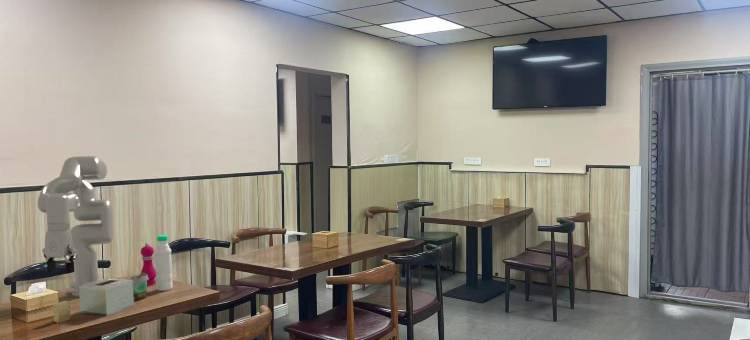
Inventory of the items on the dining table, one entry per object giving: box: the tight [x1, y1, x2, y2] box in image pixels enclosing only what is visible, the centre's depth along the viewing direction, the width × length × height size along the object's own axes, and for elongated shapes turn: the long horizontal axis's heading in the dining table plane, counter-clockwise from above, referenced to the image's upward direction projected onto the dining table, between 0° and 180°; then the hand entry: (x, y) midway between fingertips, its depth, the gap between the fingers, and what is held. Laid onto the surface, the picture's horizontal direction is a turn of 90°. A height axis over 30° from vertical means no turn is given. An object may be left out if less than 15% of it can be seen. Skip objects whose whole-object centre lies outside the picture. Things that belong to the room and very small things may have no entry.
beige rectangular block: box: [52, 300, 71, 324], centre depth 220 cm, size 2×5×7 cm, turn 158°
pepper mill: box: [139, 242, 157, 287], centre depth 275 cm, size 7×7×20 cm
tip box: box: [79, 277, 135, 317], centre depth 234 cm, size 14×14×11 cm
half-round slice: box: [127, 272, 149, 302], centre depth 249 cm, size 12×6×10 cm, turn 168°
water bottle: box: [154, 234, 174, 292], centre depth 264 cm, size 7×7×25 cm
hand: (60, 271), depth 219 cm, fingers open, 9 cm apart
